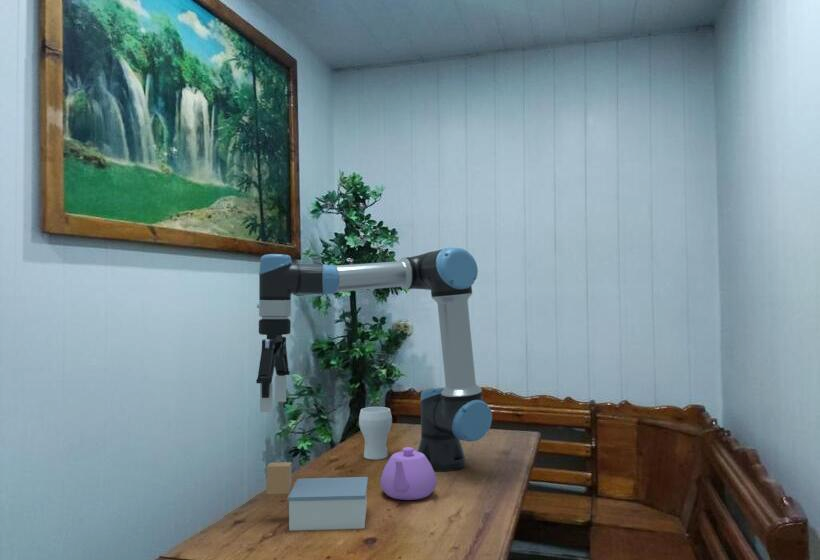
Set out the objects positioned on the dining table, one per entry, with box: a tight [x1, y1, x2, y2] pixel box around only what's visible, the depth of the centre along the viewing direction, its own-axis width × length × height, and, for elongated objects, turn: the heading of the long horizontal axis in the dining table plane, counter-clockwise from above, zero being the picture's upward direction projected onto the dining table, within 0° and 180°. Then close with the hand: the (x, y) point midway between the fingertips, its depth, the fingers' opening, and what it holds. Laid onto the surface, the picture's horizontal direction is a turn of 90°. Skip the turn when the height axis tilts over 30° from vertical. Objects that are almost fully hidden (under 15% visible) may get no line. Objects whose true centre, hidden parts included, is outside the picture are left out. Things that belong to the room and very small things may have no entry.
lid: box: [266, 461, 369, 502], centre depth 121 cm, size 22×13×6 cm, turn 92°
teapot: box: [380, 446, 437, 501], centre depth 135 cm, size 20×14×12 cm
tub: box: [288, 490, 368, 532], centre depth 120 cm, size 16×12×7 cm
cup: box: [358, 406, 393, 460], centre depth 173 cm, size 11×11×15 cm
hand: (273, 406), depth 129 cm, fingers open, 13 cm apart
